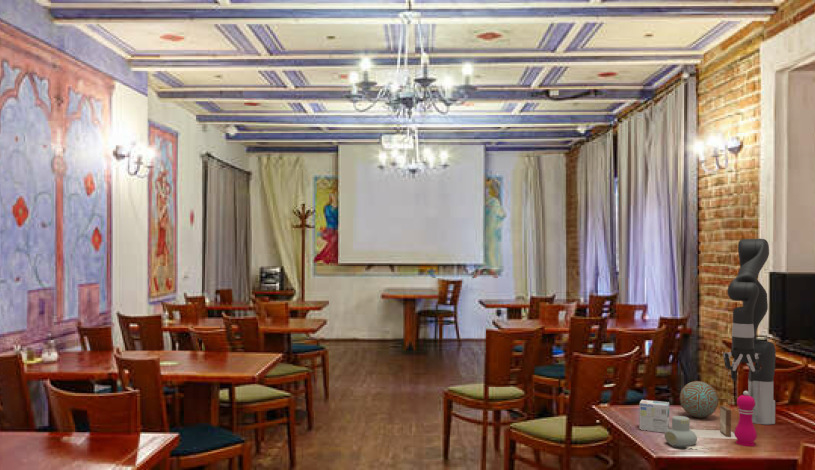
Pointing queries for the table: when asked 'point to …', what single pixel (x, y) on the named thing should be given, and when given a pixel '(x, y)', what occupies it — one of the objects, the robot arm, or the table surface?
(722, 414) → the wooden block
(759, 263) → the robot arm
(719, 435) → the board
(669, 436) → the air freshener
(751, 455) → the table surface
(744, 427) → the pepper mill
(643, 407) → the light bulb box
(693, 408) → the decorative sphere
